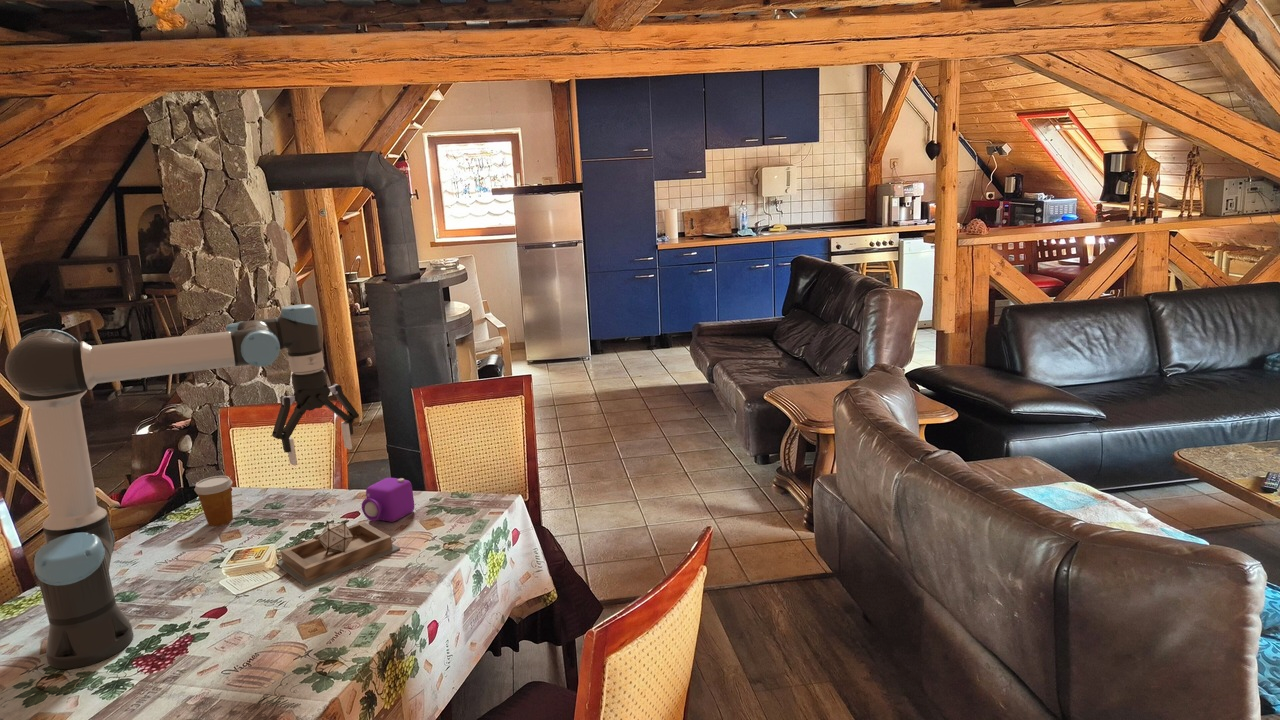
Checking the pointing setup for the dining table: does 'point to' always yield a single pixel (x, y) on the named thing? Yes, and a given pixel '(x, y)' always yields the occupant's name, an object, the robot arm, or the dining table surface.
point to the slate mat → (307, 583)
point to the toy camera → (388, 500)
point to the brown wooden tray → (316, 563)
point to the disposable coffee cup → (216, 499)
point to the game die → (335, 537)
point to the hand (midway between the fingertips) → (321, 456)
